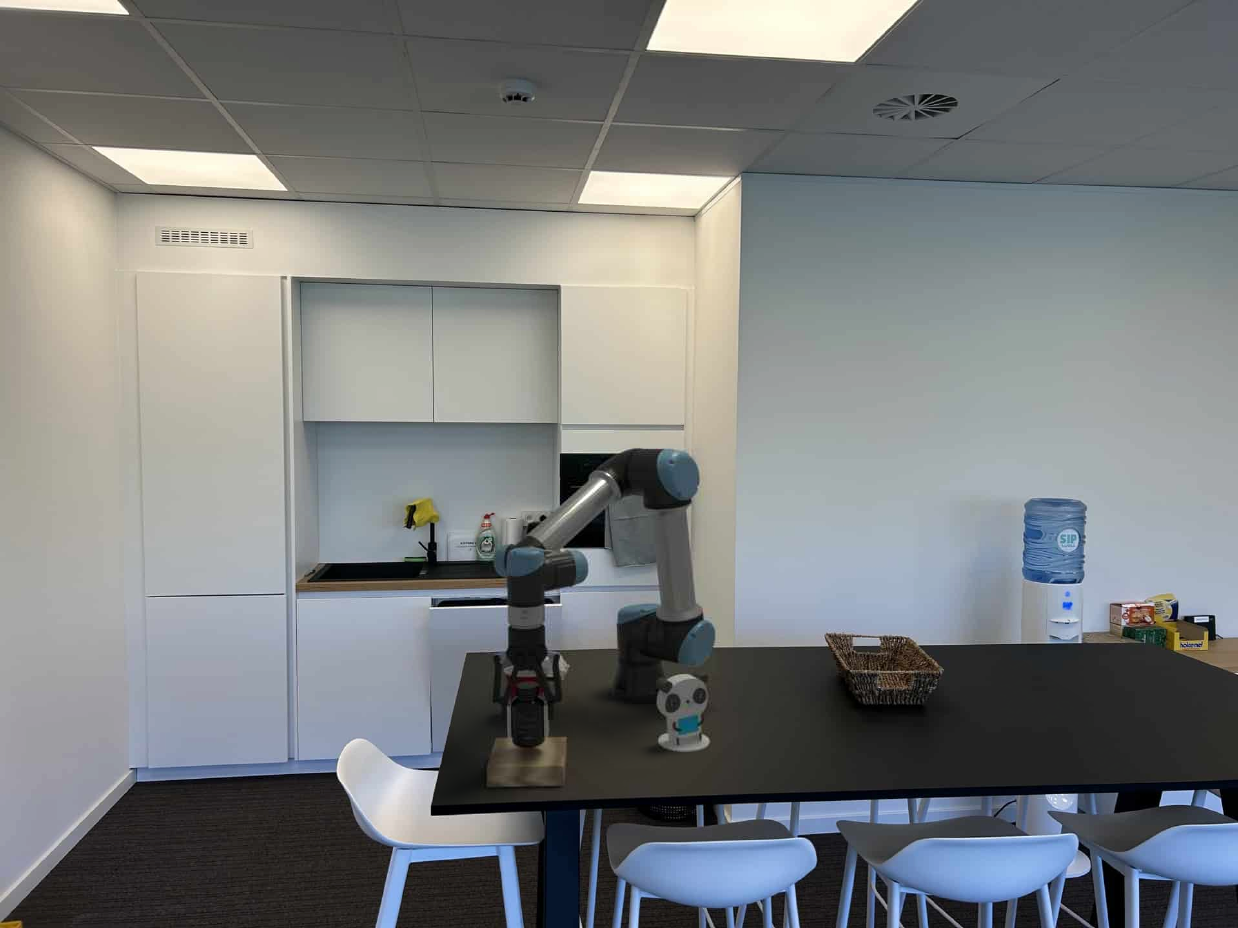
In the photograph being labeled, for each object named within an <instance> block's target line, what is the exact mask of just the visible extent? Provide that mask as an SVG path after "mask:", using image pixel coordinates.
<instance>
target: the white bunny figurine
mask: <svg viewBox="0 0 1238 928" xmlns="http://www.w3.org/2000/svg"><path fill="white" fill-rule="evenodd" d="M552 664H553V663H550V661H549V658H548V657H546V658H545V659H544V661H543V662H542V664H541V665H542V666H543V667H546V668H548V670H549V671H548V673H547V675H546V678H553V670H552ZM569 668H570V665H569V664H567V662H566V660H565V659H564V657H563V656H562V655H561V654H560V659H559V670H560V678H561V681H564V679H565V675H567V673H568V671H569Z"/></svg>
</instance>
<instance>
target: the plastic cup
mask: <svg viewBox="0 0 1238 928" xmlns="http://www.w3.org/2000/svg"><path fill="white" fill-rule="evenodd" d="M542 667H543V666H542ZM513 668H514V666H513V665H511V666H508V667H505V668H503V673H504V674H505V677H506V682H507V684H508V682H509V679H510V676H511V673H512V670H513ZM543 671H544V674H545V676H546V675H547V673H548V671H549V670H548V668H546V667H543ZM546 677H547V676H546ZM522 682H536V683H538V684H539V691H540V694H539V696H541V697H542V698H543V695H544V693H543V691H542V688H541V685H540V683H539V680H538V678H537V675H536V674H535V671H529V670H524V671H518V674H517V677H516V680H515V683H514V686H513V689H512V691H511V694H510V697H509V700H510V702H512V700H513V699H514V698H515V697H516V695H515V692H516V685H517V684H519V683H522Z"/></svg>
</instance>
